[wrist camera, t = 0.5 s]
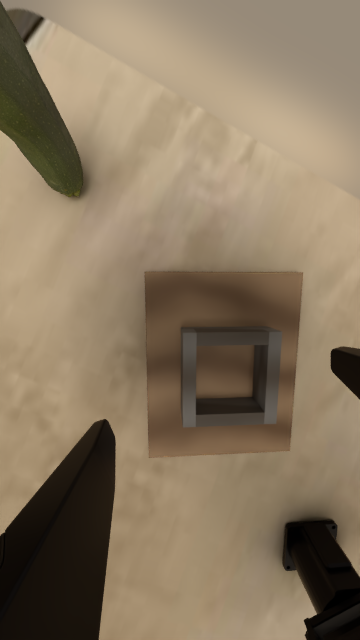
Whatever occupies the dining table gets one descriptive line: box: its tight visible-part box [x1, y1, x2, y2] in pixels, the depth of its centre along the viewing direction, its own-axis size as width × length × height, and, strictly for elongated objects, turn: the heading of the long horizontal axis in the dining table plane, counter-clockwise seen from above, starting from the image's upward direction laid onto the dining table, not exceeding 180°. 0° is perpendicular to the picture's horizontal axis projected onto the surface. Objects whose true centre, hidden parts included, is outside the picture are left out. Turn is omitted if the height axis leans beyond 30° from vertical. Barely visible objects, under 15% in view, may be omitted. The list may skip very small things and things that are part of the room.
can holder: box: [145, 272, 303, 458], centre depth 22 cm, size 20×16×4 cm
